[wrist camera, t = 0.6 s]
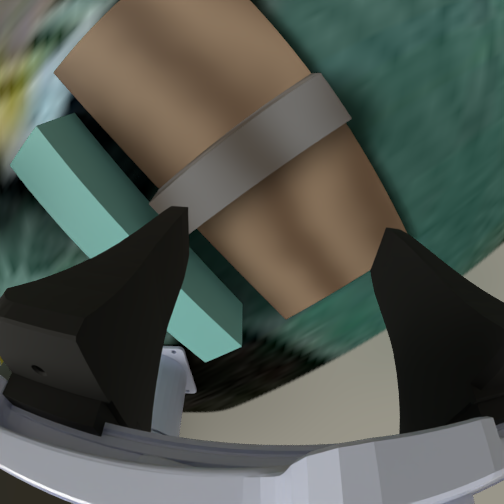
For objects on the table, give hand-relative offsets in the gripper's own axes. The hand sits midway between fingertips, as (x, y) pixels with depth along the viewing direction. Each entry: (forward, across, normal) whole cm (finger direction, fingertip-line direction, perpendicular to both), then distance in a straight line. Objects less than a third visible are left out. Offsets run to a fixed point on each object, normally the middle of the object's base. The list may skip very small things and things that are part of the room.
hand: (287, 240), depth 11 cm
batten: (+10, +9, +6) cm, 15 cm away
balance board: (+10, +2, 0) cm, 10 cm away
